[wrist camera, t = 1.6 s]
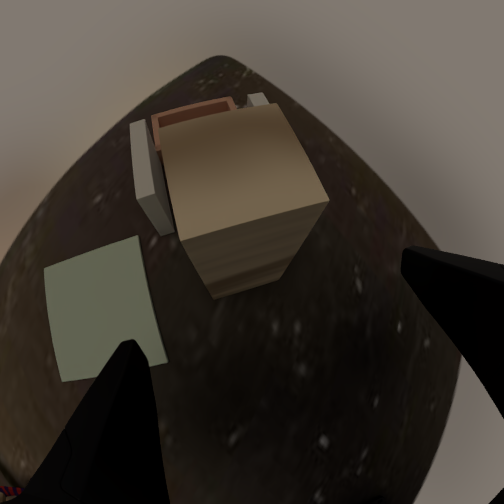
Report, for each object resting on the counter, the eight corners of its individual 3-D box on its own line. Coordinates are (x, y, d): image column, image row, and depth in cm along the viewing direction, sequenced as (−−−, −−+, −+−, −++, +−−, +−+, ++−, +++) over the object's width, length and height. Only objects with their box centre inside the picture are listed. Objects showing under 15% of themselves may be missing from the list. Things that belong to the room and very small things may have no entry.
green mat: (168, 362, 18) (167, 362, 17) (64, 381, 16) (62, 381, 16) (139, 237, 21) (137, 235, 20) (46, 269, 19) (44, 268, 19)
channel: (284, 201, 22) (298, 157, 17) (160, 236, 21) (136, 199, 15) (257, 140, 24) (262, 92, 19) (149, 168, 23) (129, 124, 17)
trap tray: (245, 142, 24) (245, 128, 22) (161, 164, 23) (156, 151, 21) (230, 110, 25) (230, 96, 24) (155, 129, 24) (151, 115, 22)
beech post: (278, 279, 20) (329, 200, 9) (213, 299, 19) (180, 241, 8) (257, 220, 22) (276, 103, 10) (196, 238, 21) (157, 128, 9)
